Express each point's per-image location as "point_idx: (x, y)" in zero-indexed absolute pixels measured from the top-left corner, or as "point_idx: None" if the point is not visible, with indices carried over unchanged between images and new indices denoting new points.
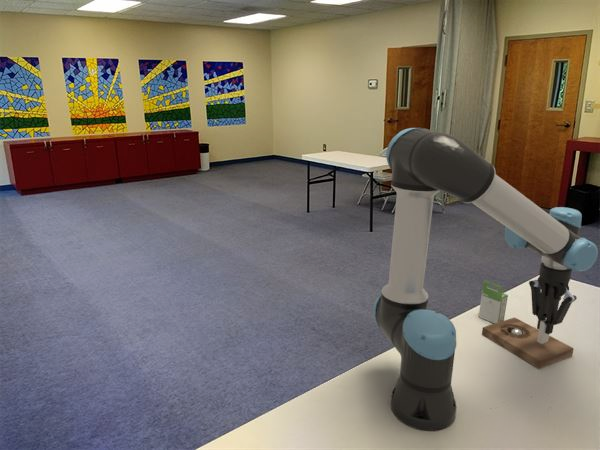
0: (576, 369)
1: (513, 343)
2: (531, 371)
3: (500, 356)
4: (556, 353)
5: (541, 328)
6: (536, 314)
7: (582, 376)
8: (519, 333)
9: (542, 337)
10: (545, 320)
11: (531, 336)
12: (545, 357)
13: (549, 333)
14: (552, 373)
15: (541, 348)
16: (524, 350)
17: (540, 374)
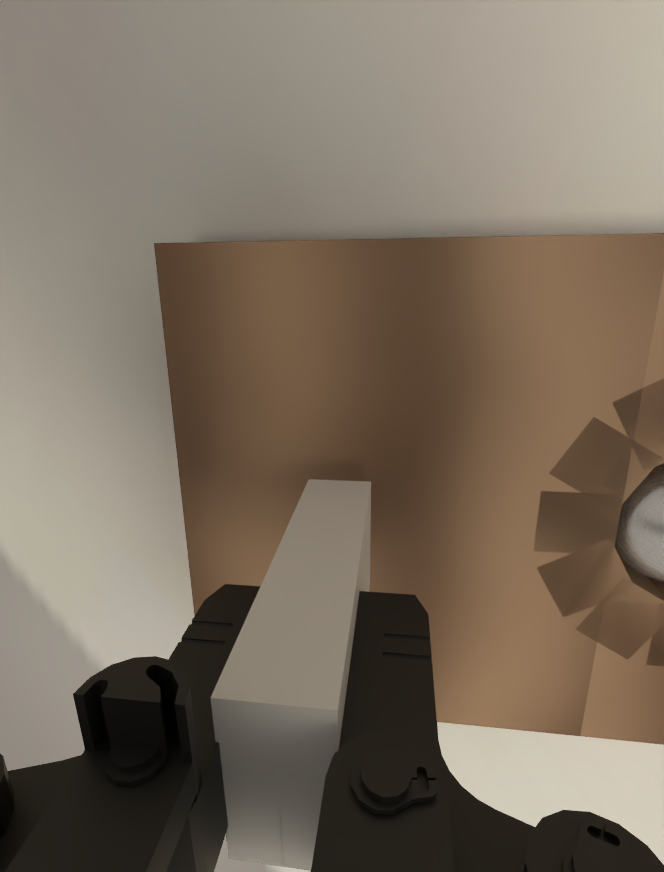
0: (92, 519)
1: (548, 273)
2: (188, 143)
3: (527, 46)
4: (198, 513)
5: (312, 597)
6: (523, 864)
7: (15, 476)
8: (641, 518)
9: (292, 517)
10: (304, 804)
11: (525, 579)
12: (182, 355)
13: (214, 608)
14: (106, 303)
15: (319, 468)
16: (373, 262)
17: (126, 185)
